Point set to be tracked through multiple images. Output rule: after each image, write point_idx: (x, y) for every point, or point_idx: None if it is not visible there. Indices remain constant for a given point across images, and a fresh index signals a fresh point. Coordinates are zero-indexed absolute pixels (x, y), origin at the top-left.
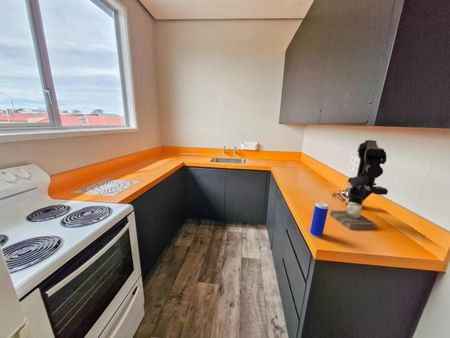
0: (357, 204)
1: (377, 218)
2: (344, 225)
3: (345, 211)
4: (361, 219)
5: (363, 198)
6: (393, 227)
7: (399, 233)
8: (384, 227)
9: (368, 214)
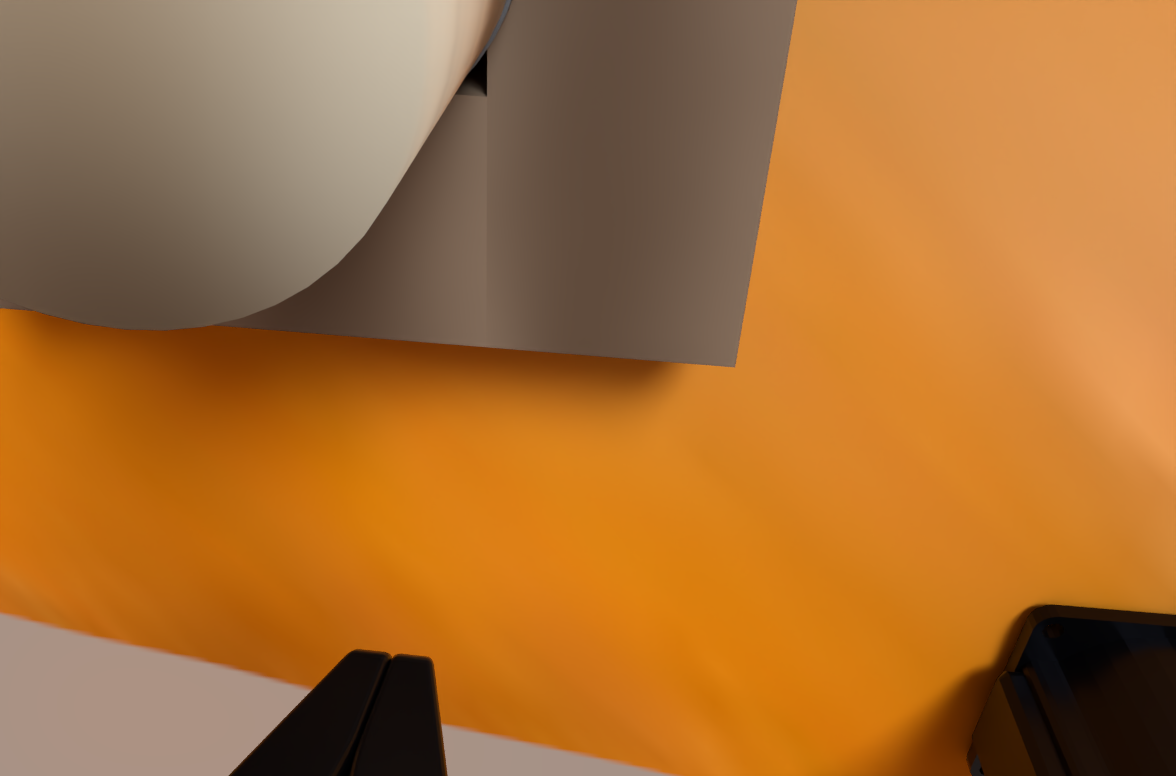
0: (100, 167)
1: (543, 686)
2: None
3: (721, 4)
4: None
5: (263, 772)
6: (219, 655)
7: (9, 570)
8: (188, 512)
9: (714, 671)
